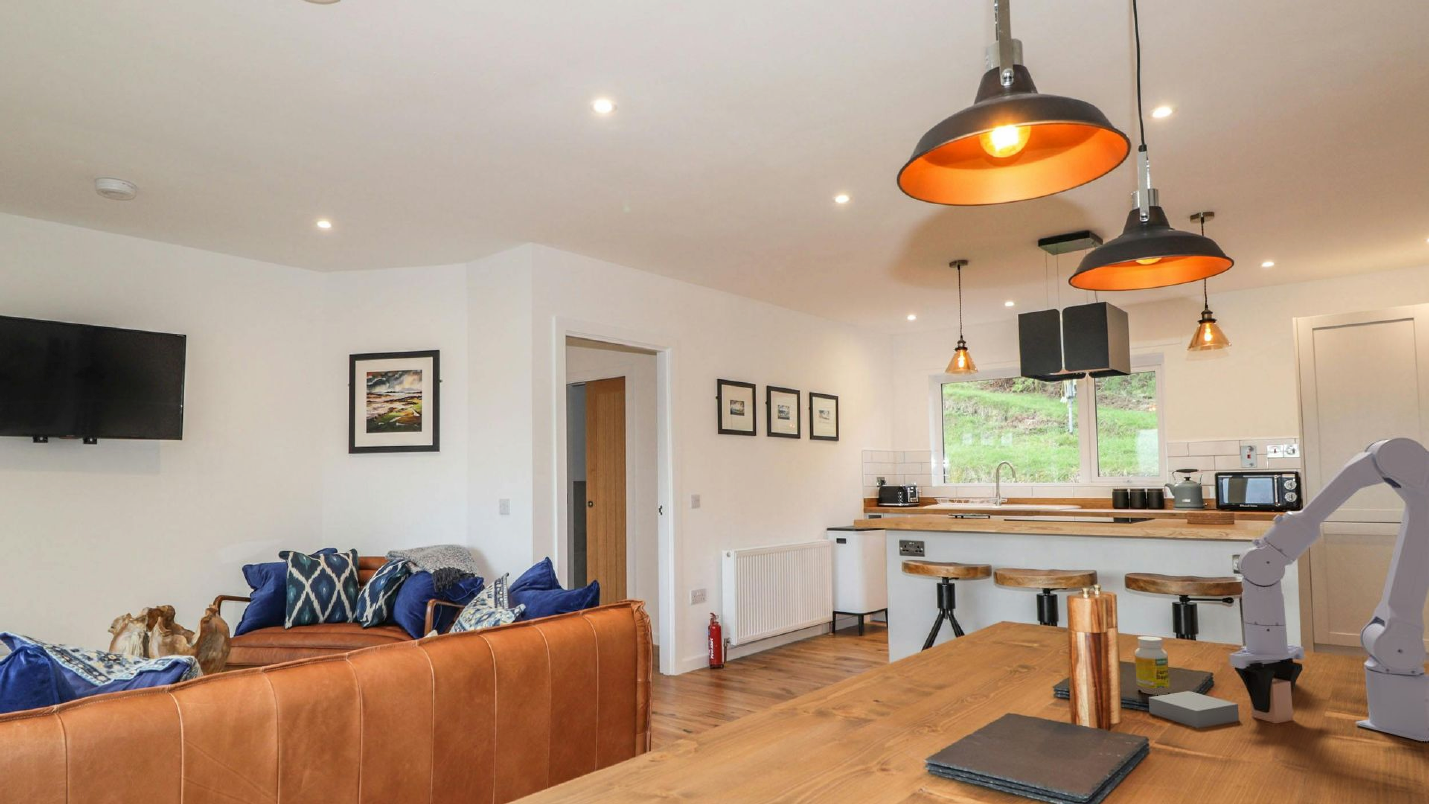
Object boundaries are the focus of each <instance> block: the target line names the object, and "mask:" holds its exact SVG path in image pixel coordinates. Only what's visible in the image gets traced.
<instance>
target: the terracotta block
mask: <svg viewBox="0 0 1429 804" xmlns="http://www.w3.org/2000/svg"><path fill="white" fill-rule="evenodd" d="M1292 697H1293V695H1292V696H1291V684H1290V681H1286V680H1282V679H1277V678H1273V680H1272V684H1271V690H1270V710H1269V712H1268V713H1265V712H1261V711H1257V710H1254V707H1253V704H1252V701H1251V698H1250V697H1249V698H1250V699H1249V701H1250V709H1251V711H1250V712H1251V713H1250V714H1251V718H1255V719H1259V720H1262V721H1266V722H1269V723H1272V724H1273V723H1274V724H1280V723H1285V722H1286V723H1287V722H1291V721H1294V711H1293V699H1292Z"/></svg>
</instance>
